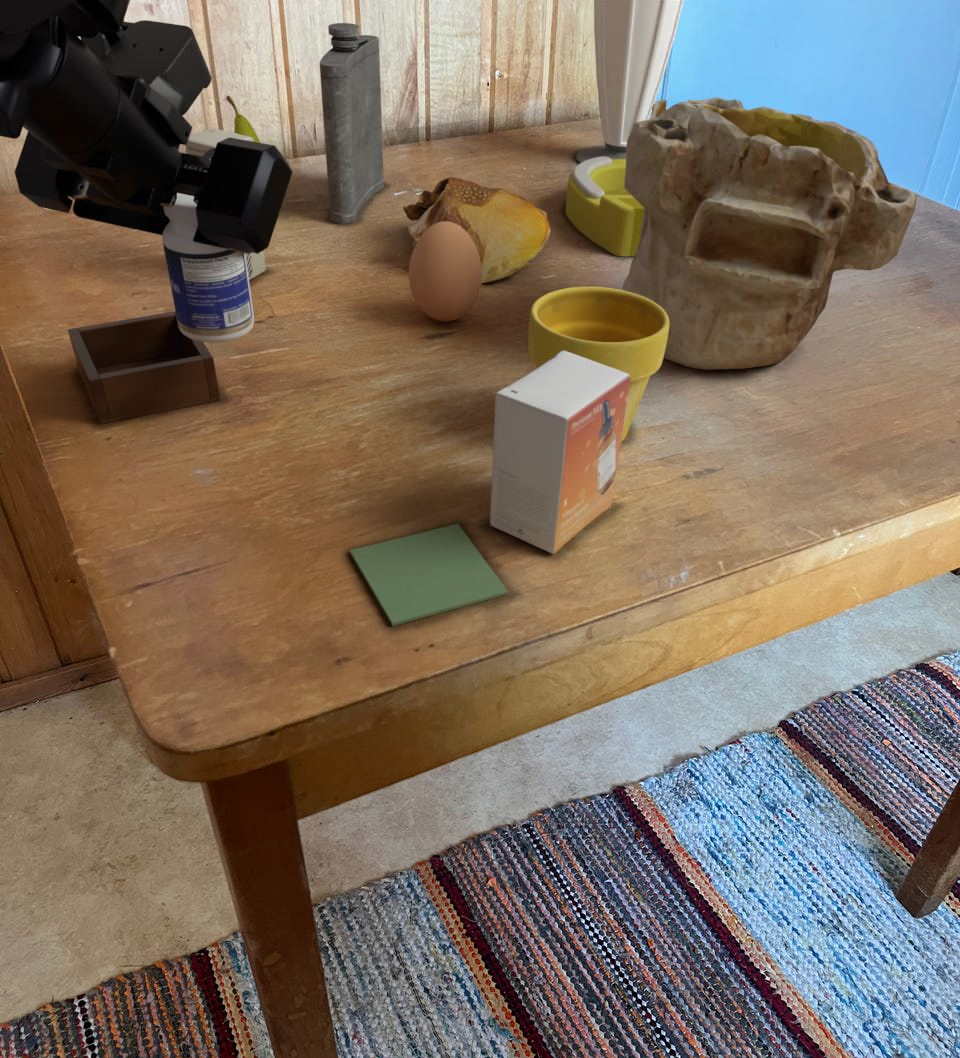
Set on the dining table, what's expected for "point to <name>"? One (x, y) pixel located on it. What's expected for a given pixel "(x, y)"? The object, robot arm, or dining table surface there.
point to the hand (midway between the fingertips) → (216, 239)
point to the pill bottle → (205, 280)
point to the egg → (445, 272)
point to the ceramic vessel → (752, 225)
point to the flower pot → (602, 333)
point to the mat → (427, 574)
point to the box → (199, 147)
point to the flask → (352, 120)
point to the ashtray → (604, 205)
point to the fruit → (242, 124)
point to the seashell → (484, 223)
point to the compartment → (142, 367)
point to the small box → (557, 449)
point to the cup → (629, 65)
